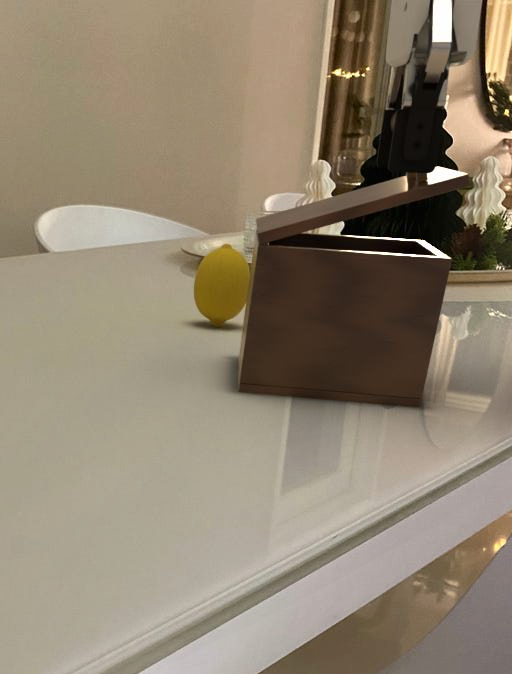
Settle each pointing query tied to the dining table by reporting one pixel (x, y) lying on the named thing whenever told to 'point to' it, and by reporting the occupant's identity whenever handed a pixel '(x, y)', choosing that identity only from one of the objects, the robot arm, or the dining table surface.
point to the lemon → (221, 284)
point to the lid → (360, 202)
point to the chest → (342, 318)
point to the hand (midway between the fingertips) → (404, 167)
